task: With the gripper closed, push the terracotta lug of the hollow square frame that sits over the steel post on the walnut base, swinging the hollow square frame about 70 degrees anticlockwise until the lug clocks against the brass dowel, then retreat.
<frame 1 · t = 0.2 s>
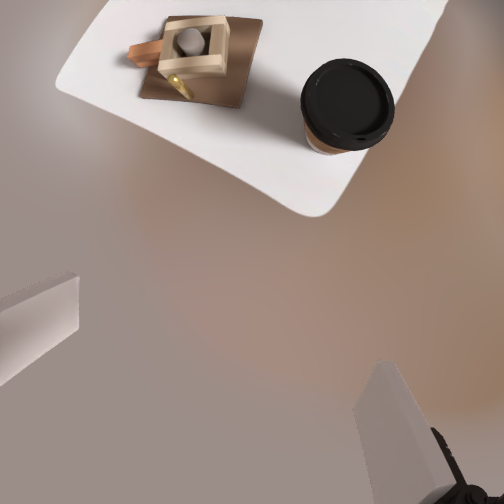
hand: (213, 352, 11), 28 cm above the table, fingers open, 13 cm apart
hollow square frame: (177, 49, 31), point 3 cm above the table, hinge at 0.0°
dowel: (192, 98, 35), resting on base
coffee cup: (327, 133, 35), on the table
base: (201, 57, 34), on the table
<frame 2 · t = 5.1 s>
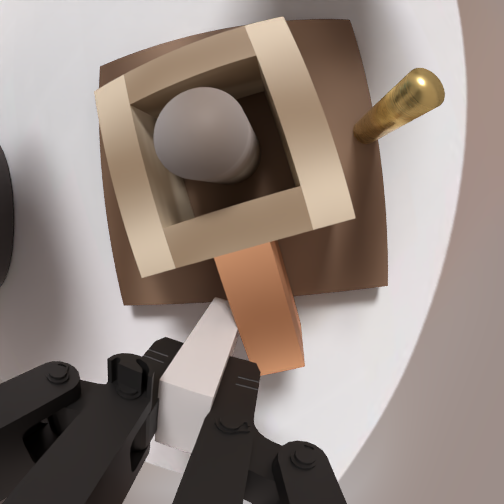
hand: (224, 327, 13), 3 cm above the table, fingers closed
hollow square frame: (237, 204, 12), point 3 cm above the table, hinge at 0.1°, touching gripper
dowel: (358, 136, 14), resting on base
base: (233, 156, 15), on the table
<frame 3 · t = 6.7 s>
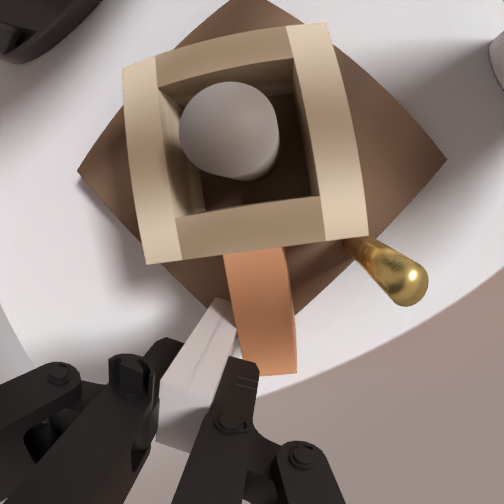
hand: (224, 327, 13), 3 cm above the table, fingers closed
hollow square frame: (251, 204, 12), point 3 cm above the table, hinge at 42.7°, touching gripper
dowel: (350, 238, 15), resting on base
base: (252, 153, 14), on the table
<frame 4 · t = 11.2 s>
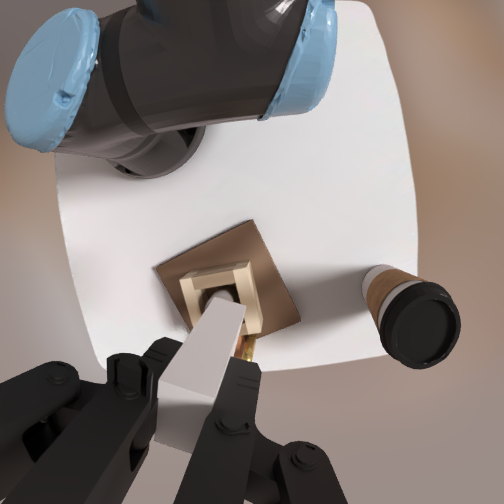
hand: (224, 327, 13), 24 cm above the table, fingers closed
hollow square frame: (228, 319, 36), point 3 cm above the table, hinge at 66.0°
dowel: (253, 332, 40), resting on base
coffee cup: (381, 285, 37), on the table
base: (228, 292, 39), on the table
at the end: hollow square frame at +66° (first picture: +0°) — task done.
